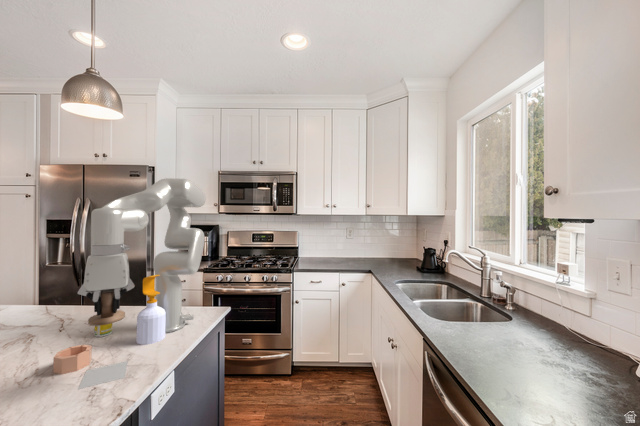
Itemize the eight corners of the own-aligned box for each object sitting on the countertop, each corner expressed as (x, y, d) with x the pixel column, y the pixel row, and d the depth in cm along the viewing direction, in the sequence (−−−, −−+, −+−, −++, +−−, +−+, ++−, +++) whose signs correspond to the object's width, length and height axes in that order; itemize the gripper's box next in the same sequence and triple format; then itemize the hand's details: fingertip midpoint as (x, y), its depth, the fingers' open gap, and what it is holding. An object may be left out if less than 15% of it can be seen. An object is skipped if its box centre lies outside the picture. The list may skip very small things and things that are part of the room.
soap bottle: (144, 348, 93) (145, 278, 93) (131, 341, 98) (133, 275, 98) (169, 338, 101) (171, 274, 101) (157, 332, 106) (158, 271, 106)
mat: (127, 362, 84) (127, 360, 84) (124, 379, 76) (124, 377, 76) (86, 372, 79) (86, 370, 79) (78, 391, 70) (78, 389, 70)
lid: (126, 312, 84) (126, 286, 84) (123, 321, 76) (123, 294, 76) (91, 317, 79) (91, 290, 79) (85, 328, 72) (85, 298, 72)
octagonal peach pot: (92, 358, 87) (93, 342, 87) (87, 370, 80) (87, 353, 80) (59, 365, 82) (59, 348, 83) (50, 378, 76) (50, 361, 76)
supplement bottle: (90, 337, 101) (91, 312, 101) (101, 331, 106) (101, 307, 106) (105, 337, 101) (106, 312, 101) (115, 331, 107) (115, 307, 107)
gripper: (142, 247, 85) (141, 304, 85) (74, 250, 77) (73, 313, 77) (140, 250, 79) (140, 311, 79) (66, 254, 70) (65, 323, 70)
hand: (107, 312), depth 78 cm, fingers closed on lid, 3 cm apart
